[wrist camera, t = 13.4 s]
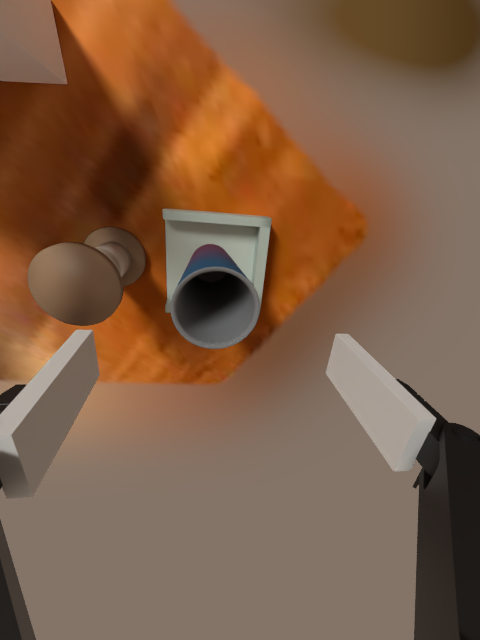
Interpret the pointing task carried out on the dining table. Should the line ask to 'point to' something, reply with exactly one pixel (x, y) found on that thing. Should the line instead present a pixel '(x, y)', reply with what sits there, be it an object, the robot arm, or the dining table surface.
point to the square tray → (220, 229)
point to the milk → (30, 43)
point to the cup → (214, 300)
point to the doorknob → (86, 275)
